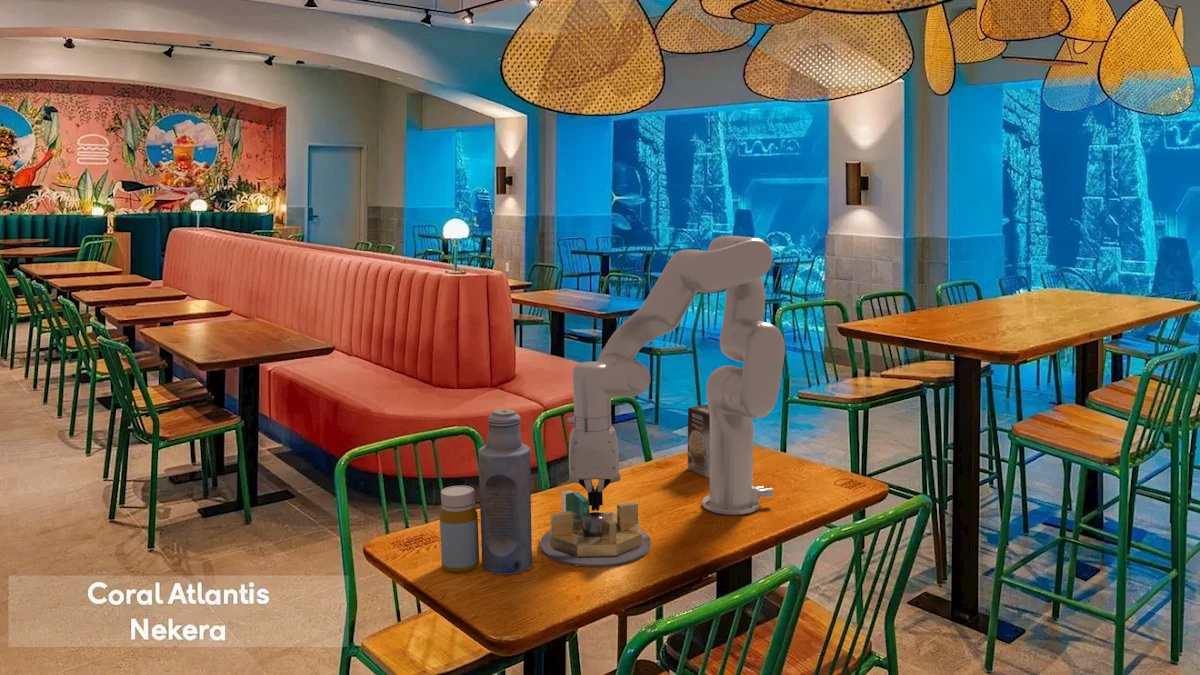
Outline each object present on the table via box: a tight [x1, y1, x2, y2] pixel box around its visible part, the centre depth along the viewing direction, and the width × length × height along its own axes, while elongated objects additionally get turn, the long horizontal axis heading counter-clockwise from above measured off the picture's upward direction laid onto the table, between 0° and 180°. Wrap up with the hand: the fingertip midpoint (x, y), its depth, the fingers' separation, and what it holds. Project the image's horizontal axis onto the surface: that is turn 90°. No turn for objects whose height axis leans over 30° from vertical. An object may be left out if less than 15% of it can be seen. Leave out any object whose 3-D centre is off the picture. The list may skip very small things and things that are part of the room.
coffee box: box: [686, 403, 710, 479], centre depth 235 cm, size 9×6×16 cm
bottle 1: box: [439, 485, 480, 574], centre depth 177 cm, size 7×7×15 cm
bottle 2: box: [478, 408, 533, 575], centre depth 177 cm, size 10×10×30 cm
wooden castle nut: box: [549, 491, 642, 556], centre depth 189 cm, size 20×18×6 cm
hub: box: [540, 489, 652, 568], centre depth 188 cm, size 22×22×8 cm
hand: (595, 508), depth 195 cm, fingers closed
